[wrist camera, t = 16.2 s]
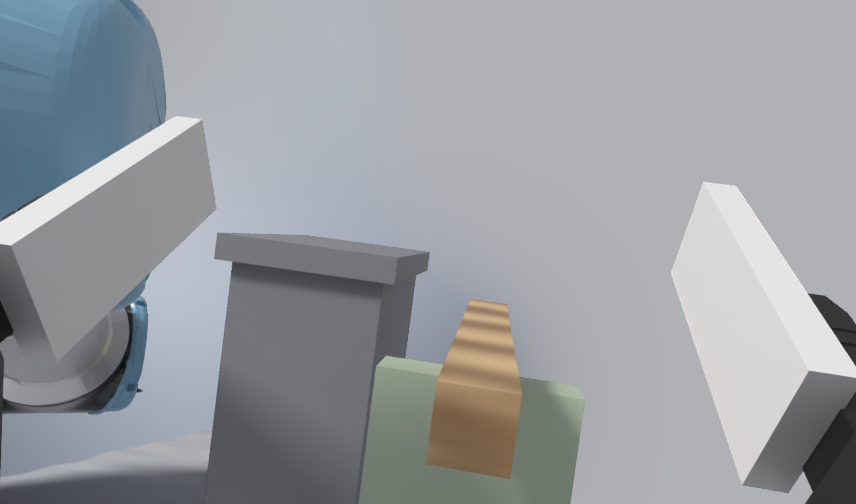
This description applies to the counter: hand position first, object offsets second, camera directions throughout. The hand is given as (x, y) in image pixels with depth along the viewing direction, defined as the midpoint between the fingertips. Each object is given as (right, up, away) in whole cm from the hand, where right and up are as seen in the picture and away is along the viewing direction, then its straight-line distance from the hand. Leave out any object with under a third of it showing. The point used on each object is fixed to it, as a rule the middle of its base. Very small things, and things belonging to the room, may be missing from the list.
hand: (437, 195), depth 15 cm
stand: (-12, -31, +38) cm, 50 cm away
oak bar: (+3, -9, +19) cm, 21 cm away
